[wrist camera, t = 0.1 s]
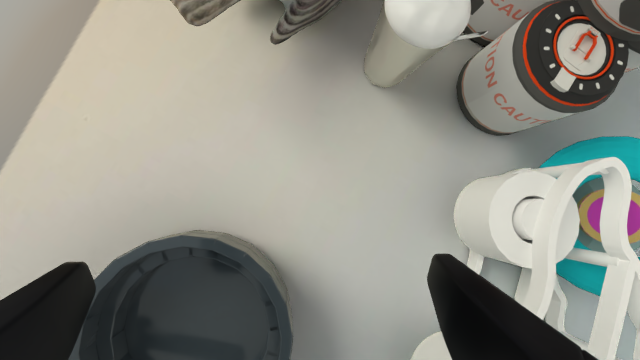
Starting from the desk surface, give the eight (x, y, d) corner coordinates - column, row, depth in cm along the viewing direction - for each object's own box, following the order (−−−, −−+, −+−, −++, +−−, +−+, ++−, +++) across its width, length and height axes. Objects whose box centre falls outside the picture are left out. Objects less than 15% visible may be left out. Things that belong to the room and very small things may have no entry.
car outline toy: (460, 148, 25) (530, 126, 18) (589, 193, 26) (709, 191, 18) (382, 413, 23) (425, 512, 16) (524, 454, 24) (627, 567, 16)
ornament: (652, 122, 23) (502, 172, 28) (677, 107, 20) (499, 167, 24) (737, 272, 21) (556, 300, 26) (783, 287, 17) (562, 316, 22)
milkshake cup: (384, 117, 25) (447, 60, 15) (342, 59, 25) (378, -37, 15) (430, 84, 25) (522, 7, 15) (390, 27, 25) (454, -86, 15)
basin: (322, 351, 23) (329, 383, 19) (161, 451, 22) (132, 506, 18) (238, 198, 23) (228, 197, 19) (73, 287, 22) (25, 307, 18)
